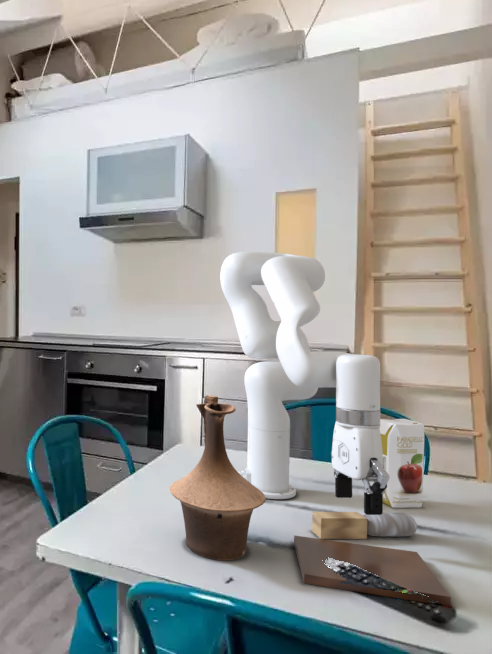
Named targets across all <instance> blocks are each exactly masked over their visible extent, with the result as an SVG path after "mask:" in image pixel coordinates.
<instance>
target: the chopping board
mask: <svg viewBox="0 0 492 654" xmlns="http://www.w3.org/2000/svg"><path fill="white" fill-rule="evenodd" d="M293 546H294V550H295V553H296V558H297V562H298V564H299V570H300V574H301V577H302V581H303V583H304V584H308V585H313V586H319V587H324V588H325V587H326V588H332V589H339V590H344V591H345V590H346V591H352V592H357V593H365V594H369V595H370V594H371V595H376V596H381V597H387V598H388V597H389V598H395V599H400V600H407V601H414V602H419V603H426V604H431V603H430V602H429V601H428V599H431V600H434V601H438V602H439V603H442V604H444V605H443V606H445V607H451V605H452V597H451V595H450V594H449V593H448V591H447V590H446V589H445V587H444V586H443V584H442V583H441V582H440V580H439V579H438V578H437V576H436V575H435V574H434V573H433V572H432V570H431V569H430V567H429V566H428V565H427V563H426V562H425V560H424V559H423V558H422V556H421V555H420V554H419V553H418V551H413V550H405V549H398V548H390V547H382V546H376V545H368V544H361V543H354V542H345V541H338V540H333V539H321V538H317V537H311V536H310V537H308V536H301V535H293ZM328 557H329V558H333V559H335V560H339V561H344V562H348V563H350V564H353V565H356V566H358V567H360V568H362V569H364V570H367V571H368V572H371V573H373V574H376V575H378V576H380V577H382V578H384V579H386V580H389V581H391V582H393V583H395V584H397V585H399V586H402V587H404V588H407V589H410V590H413V591H415V592H418V593H421V594H424V595H426V596H423V599H422V597H421V595H419V596H418V595H414V594H408V593H402V592H395V591H389V590H383V589H376V588H370V587H363V586H357V585H351V584H344V583H340V582H342V581H347V580H346V578H343V577H342V575H341V576H340V574H339V573H337V574H336V572H335V573H334V571H333V570H332V569H330V568H328V567H327V566H326V565H325V564H326V563H325V560H326V559H327V560H328ZM322 560H323V561H322ZM324 563H325V564H324ZM329 567H330V566H329ZM427 596H429V597H427ZM432 605H434V604H433V603H432Z"/></svg>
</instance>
